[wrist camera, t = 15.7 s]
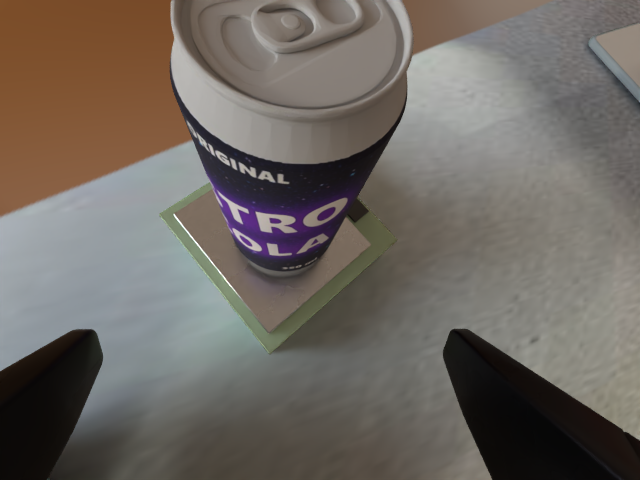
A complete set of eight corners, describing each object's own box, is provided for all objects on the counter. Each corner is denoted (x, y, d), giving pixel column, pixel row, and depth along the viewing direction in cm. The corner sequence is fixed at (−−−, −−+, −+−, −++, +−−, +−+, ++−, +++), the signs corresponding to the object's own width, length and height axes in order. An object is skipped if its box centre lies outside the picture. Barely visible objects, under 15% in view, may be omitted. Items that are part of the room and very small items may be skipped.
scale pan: (269, 334, 16) (268, 334, 16) (175, 218, 17) (172, 213, 17) (368, 247, 18) (372, 244, 18) (280, 150, 20) (280, 144, 19)
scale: (270, 352, 18) (269, 354, 16) (173, 230, 20) (156, 212, 17) (382, 252, 21) (399, 238, 19) (291, 152, 23) (294, 126, 20)
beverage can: (213, 208, 17) (97, -47, 6) (300, 167, 19) (337, -95, 8) (263, 294, 16) (237, 183, 5) (350, 243, 18) (484, 70, 6)
